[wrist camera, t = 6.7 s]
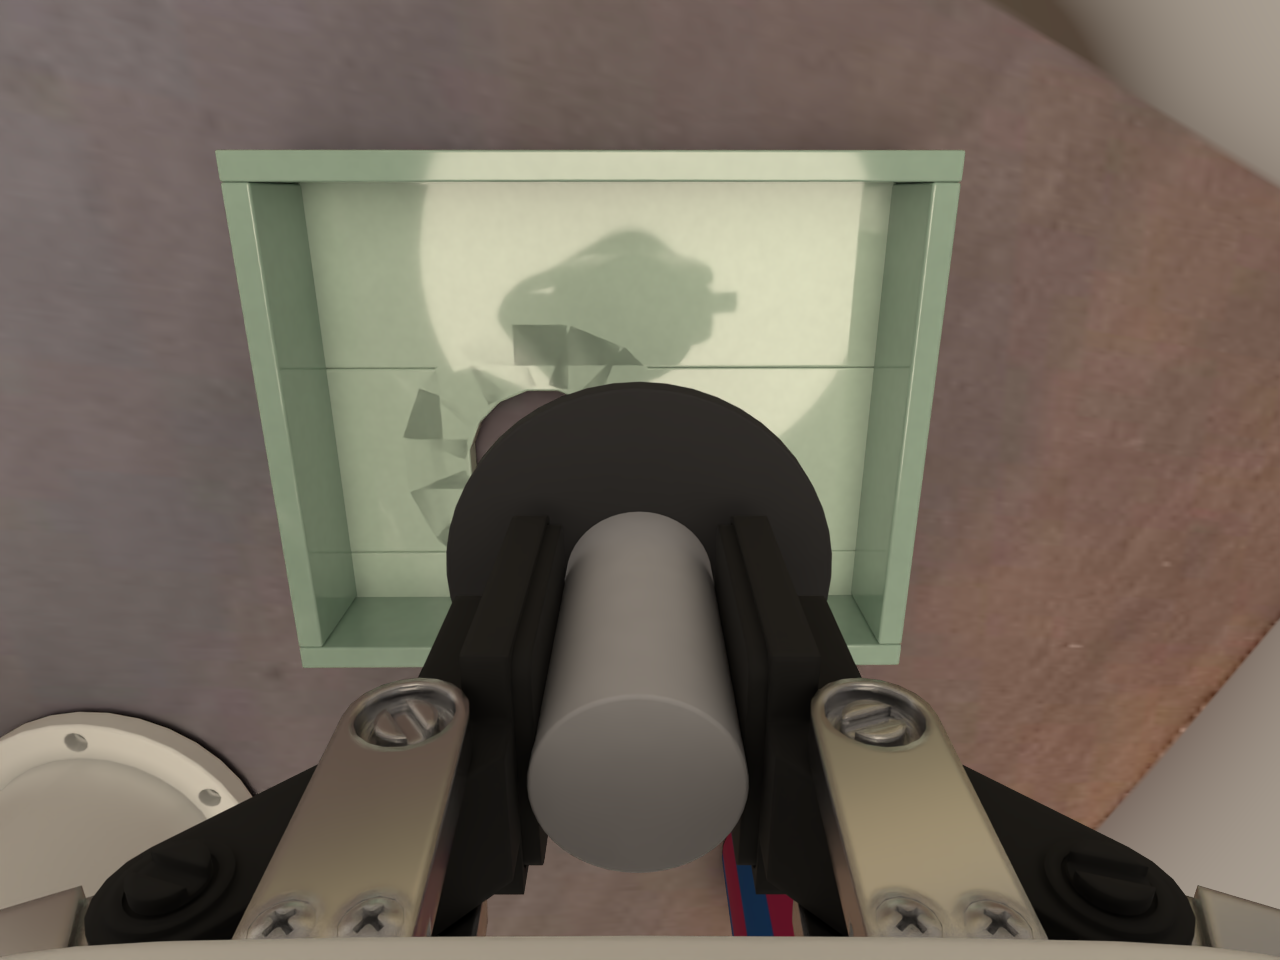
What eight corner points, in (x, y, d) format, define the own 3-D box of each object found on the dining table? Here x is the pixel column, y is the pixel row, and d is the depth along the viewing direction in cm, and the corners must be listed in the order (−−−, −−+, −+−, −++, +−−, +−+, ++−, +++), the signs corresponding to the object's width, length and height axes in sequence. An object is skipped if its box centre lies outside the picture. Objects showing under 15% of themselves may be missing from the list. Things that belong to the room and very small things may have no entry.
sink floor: (862, 600, 31) (869, 613, 30) (347, 603, 31) (338, 616, 30) (910, 157, 25) (921, 155, 24) (284, 157, 25) (270, 155, 24)
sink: (862, 600, 31) (899, 665, 26) (347, 603, 31) (301, 668, 26) (910, 157, 25) (966, 149, 21) (284, 157, 25) (213, 149, 21)
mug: (695, 879, 35) (709, 1030, 29) (805, 710, 32) (848, 836, 26) (824, 926, 36) (865, 1082, 30) (942, 766, 33) (1016, 901, 27)
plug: (801, 690, 15) (899, 1001, 10) (476, 688, 15) (374, 998, 10) (830, 369, 13) (982, 517, 7) (449, 367, 13) (295, 514, 7)
